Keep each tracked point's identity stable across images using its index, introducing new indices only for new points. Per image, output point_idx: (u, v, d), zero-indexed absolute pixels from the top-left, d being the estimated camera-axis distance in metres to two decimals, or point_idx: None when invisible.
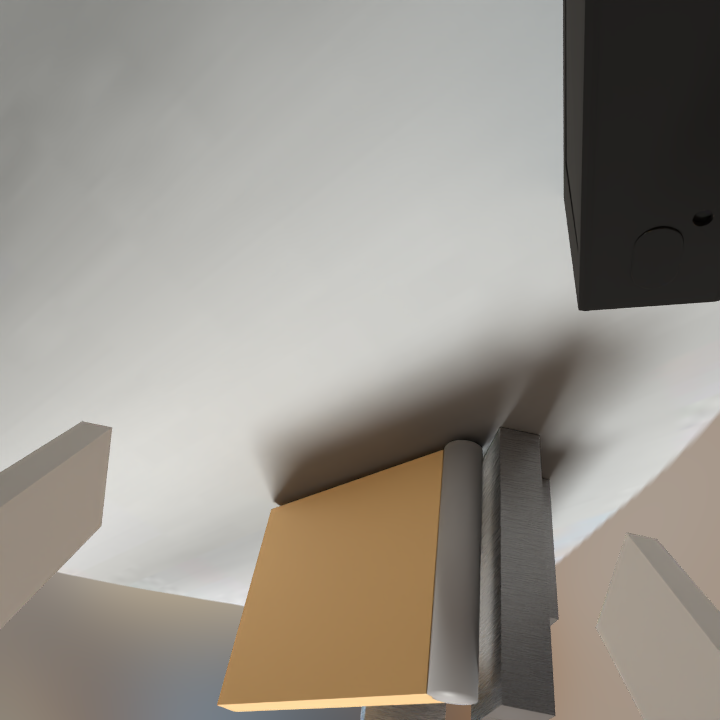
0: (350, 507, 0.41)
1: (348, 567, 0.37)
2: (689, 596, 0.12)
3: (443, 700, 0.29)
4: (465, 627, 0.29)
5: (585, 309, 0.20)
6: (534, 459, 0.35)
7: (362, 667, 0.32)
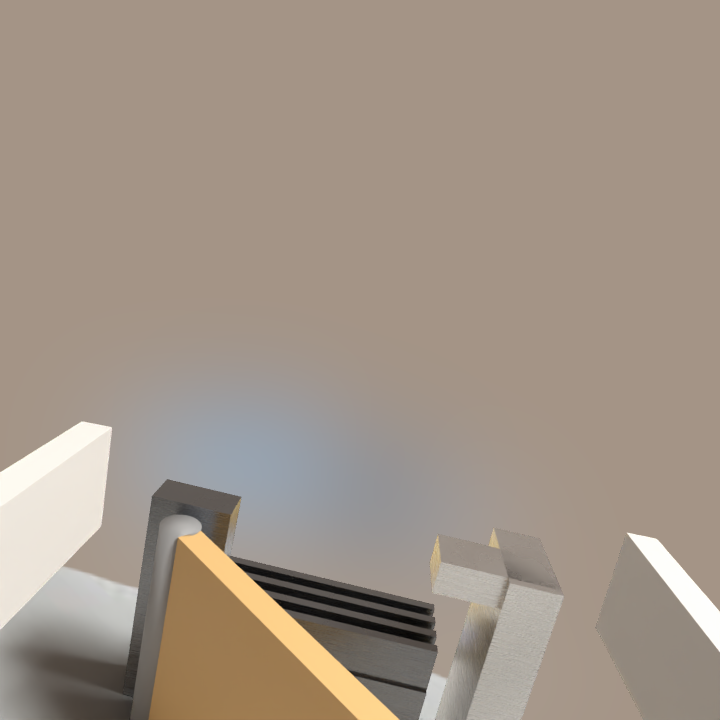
0: None
1: None
2: (689, 596, 0.12)
3: (194, 530, 0.35)
4: None
5: None
6: None
7: (216, 604, 0.31)
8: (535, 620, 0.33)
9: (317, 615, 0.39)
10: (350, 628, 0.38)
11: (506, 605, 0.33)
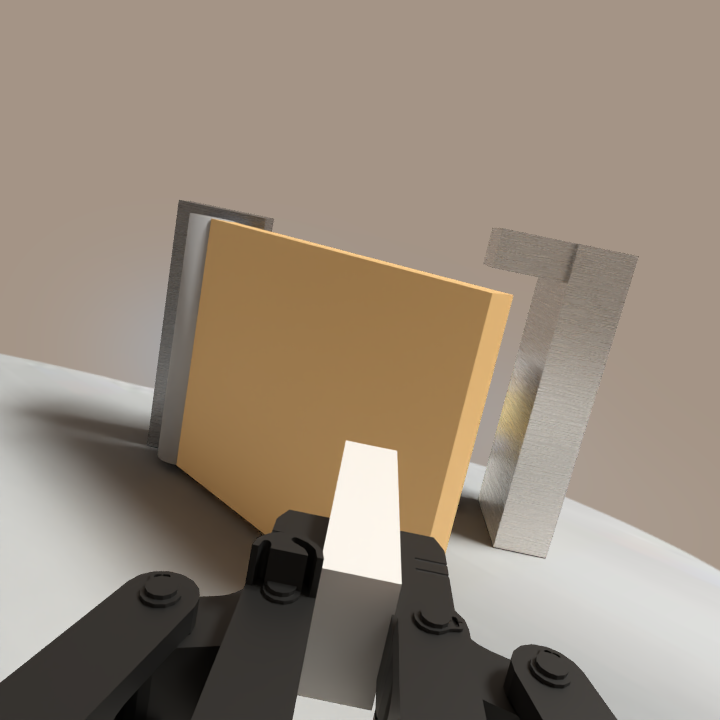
0: (266, 490, 0.29)
1: (269, 397, 0.28)
2: (381, 484, 0.14)
3: (227, 221, 0.32)
4: None
5: None
6: None
7: (259, 262, 0.28)
8: (606, 288, 0.30)
9: None
10: None
11: (575, 272, 0.30)
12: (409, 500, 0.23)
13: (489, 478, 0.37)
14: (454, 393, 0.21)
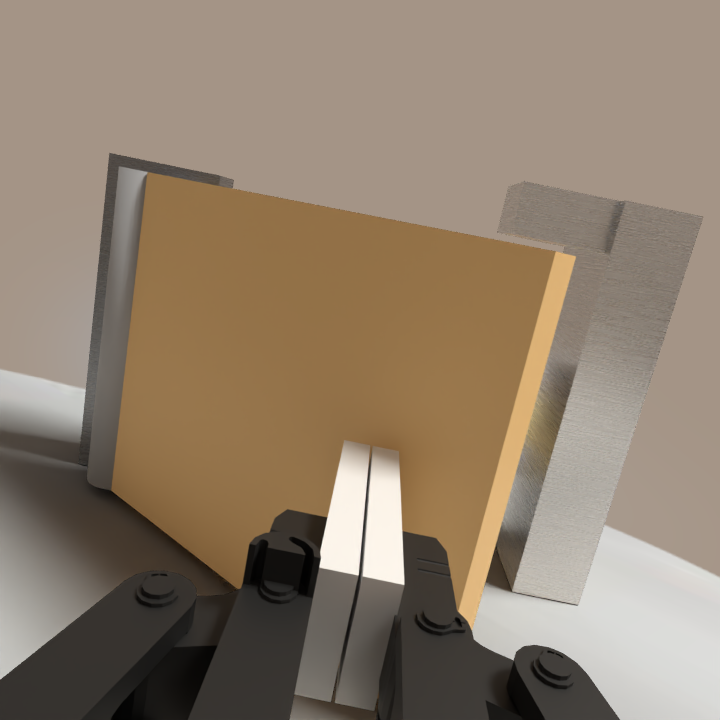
0: (229, 524, 0.22)
1: (231, 403, 0.21)
2: (383, 484, 0.14)
3: None
4: None
5: None
6: None
7: (212, 226, 0.21)
8: (660, 259, 0.23)
9: None
10: None
11: (620, 238, 0.23)
12: None
13: None
14: (497, 395, 0.15)
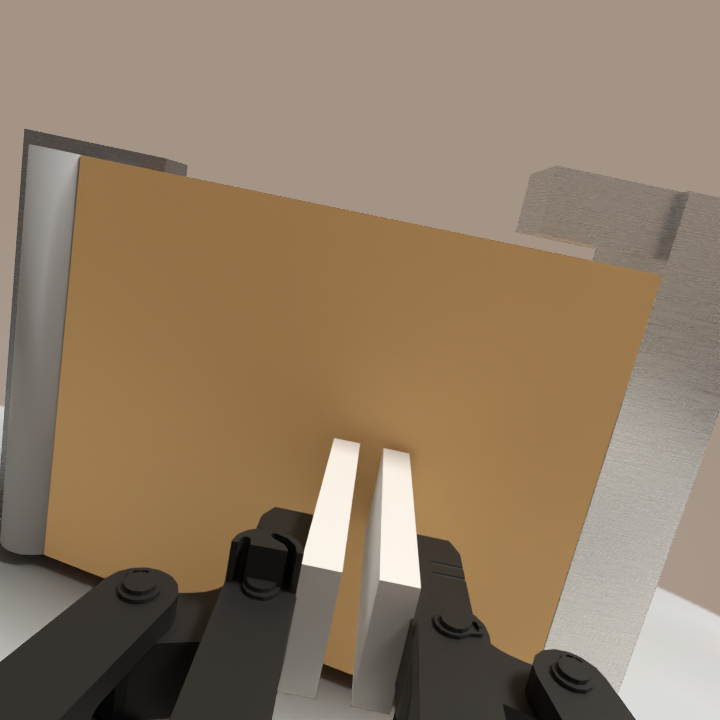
0: None
1: (243, 439, 0.18)
2: (395, 487, 0.14)
3: None
4: None
5: None
6: None
7: (201, 231, 0.18)
8: None
9: None
10: None
11: (681, 240, 0.17)
12: (521, 560, 0.17)
13: None
14: (597, 413, 0.16)
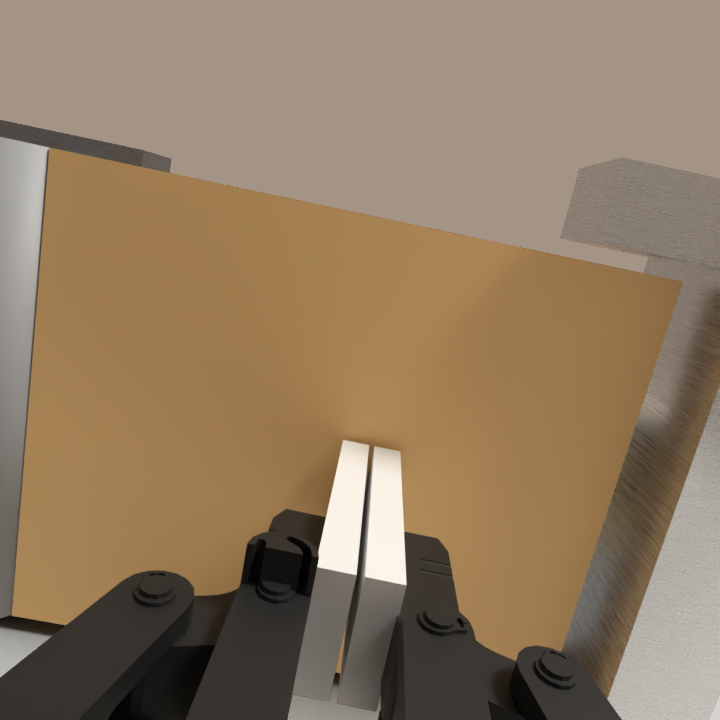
0: None
1: (266, 462, 0.17)
2: (384, 485, 0.14)
3: None
4: None
5: None
6: None
7: (213, 239, 0.16)
8: None
9: None
10: None
11: None
12: (552, 548, 0.18)
13: None
14: (623, 409, 0.17)
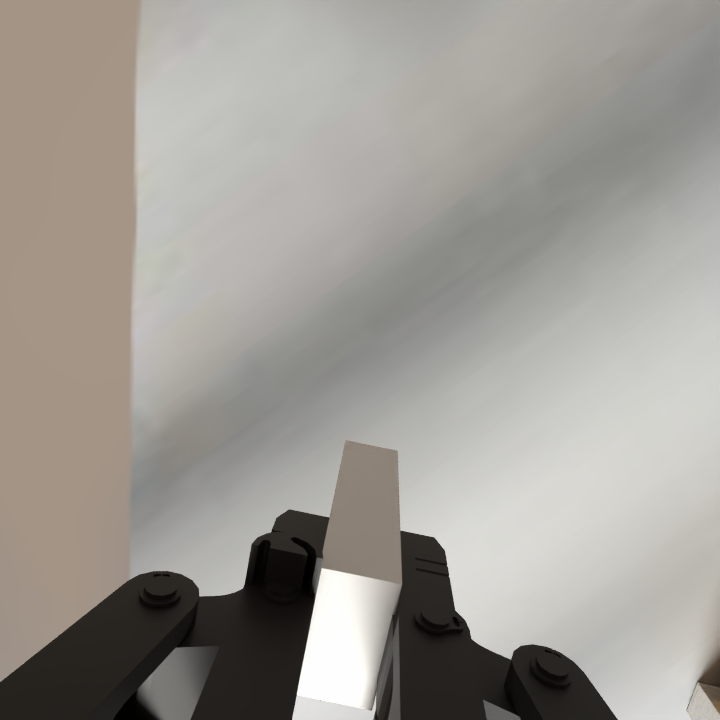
0: None
1: None
2: (381, 484, 0.14)
3: None
4: None
5: None
6: None
7: None
8: None
9: None
10: None
11: None
12: None
13: None
14: None
